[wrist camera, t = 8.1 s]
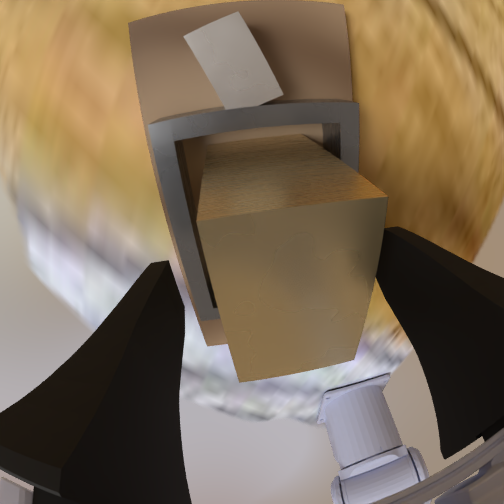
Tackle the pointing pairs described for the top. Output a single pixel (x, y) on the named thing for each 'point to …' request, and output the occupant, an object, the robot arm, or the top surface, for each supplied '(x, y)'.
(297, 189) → the block
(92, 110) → the top surface
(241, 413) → the top surface
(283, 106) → the brown board
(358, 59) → the top surface
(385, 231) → the robot arm
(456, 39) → the top surface
